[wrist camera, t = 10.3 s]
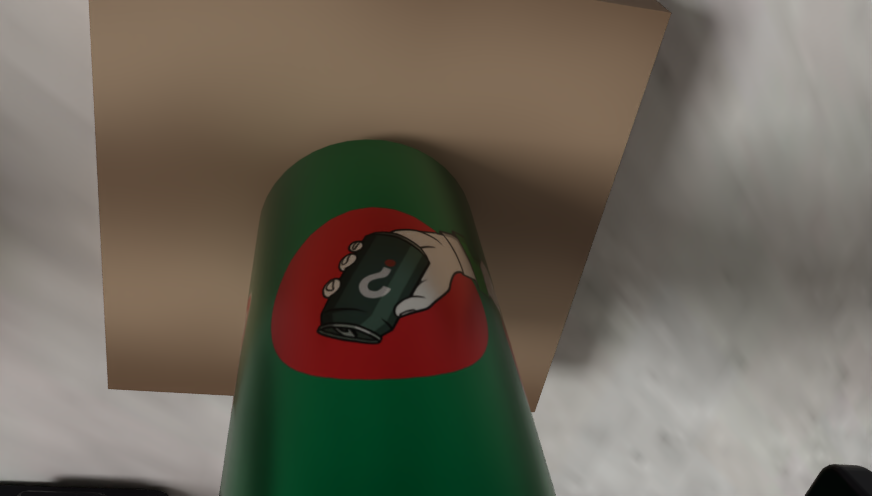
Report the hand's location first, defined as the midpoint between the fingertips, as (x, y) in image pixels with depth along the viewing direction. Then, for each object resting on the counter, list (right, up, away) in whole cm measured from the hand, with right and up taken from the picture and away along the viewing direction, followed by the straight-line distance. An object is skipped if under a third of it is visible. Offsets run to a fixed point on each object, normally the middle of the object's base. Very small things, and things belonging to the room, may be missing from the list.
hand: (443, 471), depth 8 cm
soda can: (-2, +3, +11) cm, 11 cm away
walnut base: (-2, +4, +13) cm, 14 cm away
